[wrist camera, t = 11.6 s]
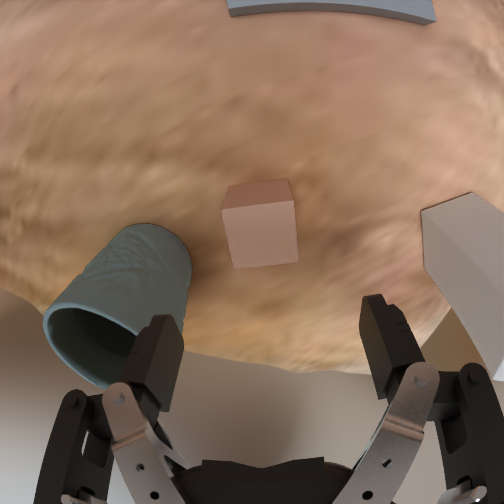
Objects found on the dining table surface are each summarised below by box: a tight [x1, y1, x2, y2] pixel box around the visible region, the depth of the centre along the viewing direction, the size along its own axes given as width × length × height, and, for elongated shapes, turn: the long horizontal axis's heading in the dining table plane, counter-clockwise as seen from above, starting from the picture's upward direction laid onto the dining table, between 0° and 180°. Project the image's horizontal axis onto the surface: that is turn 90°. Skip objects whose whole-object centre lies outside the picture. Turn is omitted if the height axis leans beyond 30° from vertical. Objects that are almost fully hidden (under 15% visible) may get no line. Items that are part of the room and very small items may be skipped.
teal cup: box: [43, 223, 192, 390], centre depth 20 cm, size 10×10×12 cm
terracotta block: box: [221, 179, 299, 269], centre depth 20 cm, size 5×5×5 cm
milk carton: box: [421, 192, 504, 381], centre depth 15 cm, size 7×7×19 cm
